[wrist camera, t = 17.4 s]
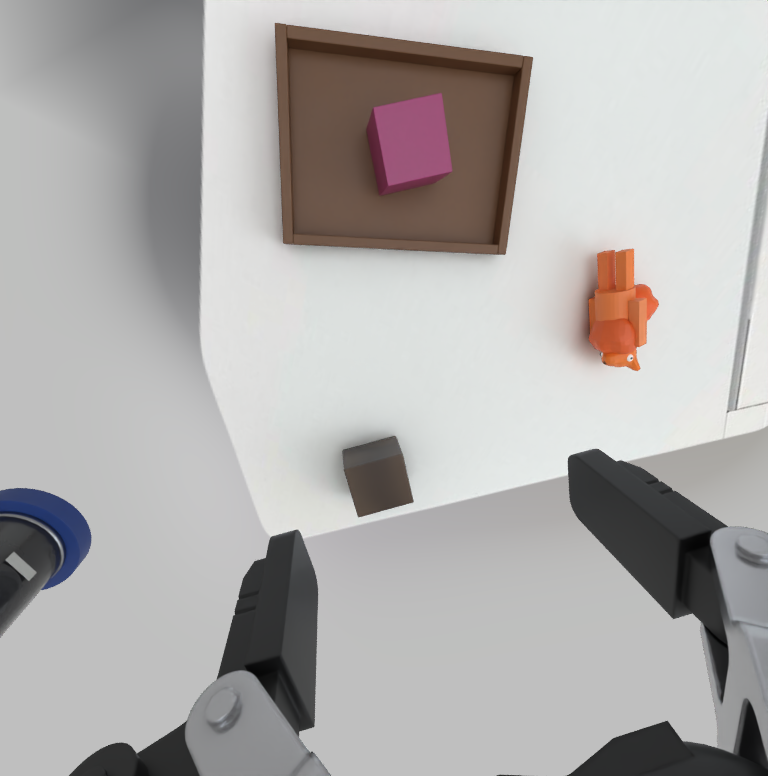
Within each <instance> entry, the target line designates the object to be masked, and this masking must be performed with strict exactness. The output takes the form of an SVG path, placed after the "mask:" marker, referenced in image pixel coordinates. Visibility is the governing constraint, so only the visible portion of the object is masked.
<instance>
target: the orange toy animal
mask: <svg viewBox="0 0 768 776" xmlns="http://www.w3.org/2000/svg"><path fill="white" fill-rule="evenodd" d="M615 260H616V285H615ZM597 261H598V289H597V290H595V297H593V298H591V299H589V321H590V335H589V341H590V343H591V344H592V345H593V347H594V348H595V349H597V350H599V351H601V353H600V355H601V357H602V362H603V363H604V364H605V365H608V366H615V367H624V366H627V367H629V368H631V369H633V370H635V371H638V370H639V369H640V366H639V363H638V361H637V356H636V353H637V351H636V348H637V347H640V346H642V345H644V344H646V335H647V320H649V319H650V317H651V316H652V315H653V313H654V312H655V311H656V309H657V307H658V305H659V303H658V300H657V299H656V298H655V297H654V296H653V295H652V292H651V289H650V288H649V287H648V286H646V285H643V284H638V285H634V249H626V250H621V251H618V252H615V250H612V251H604V252H601V253H598V254H597Z"/></svg>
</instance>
